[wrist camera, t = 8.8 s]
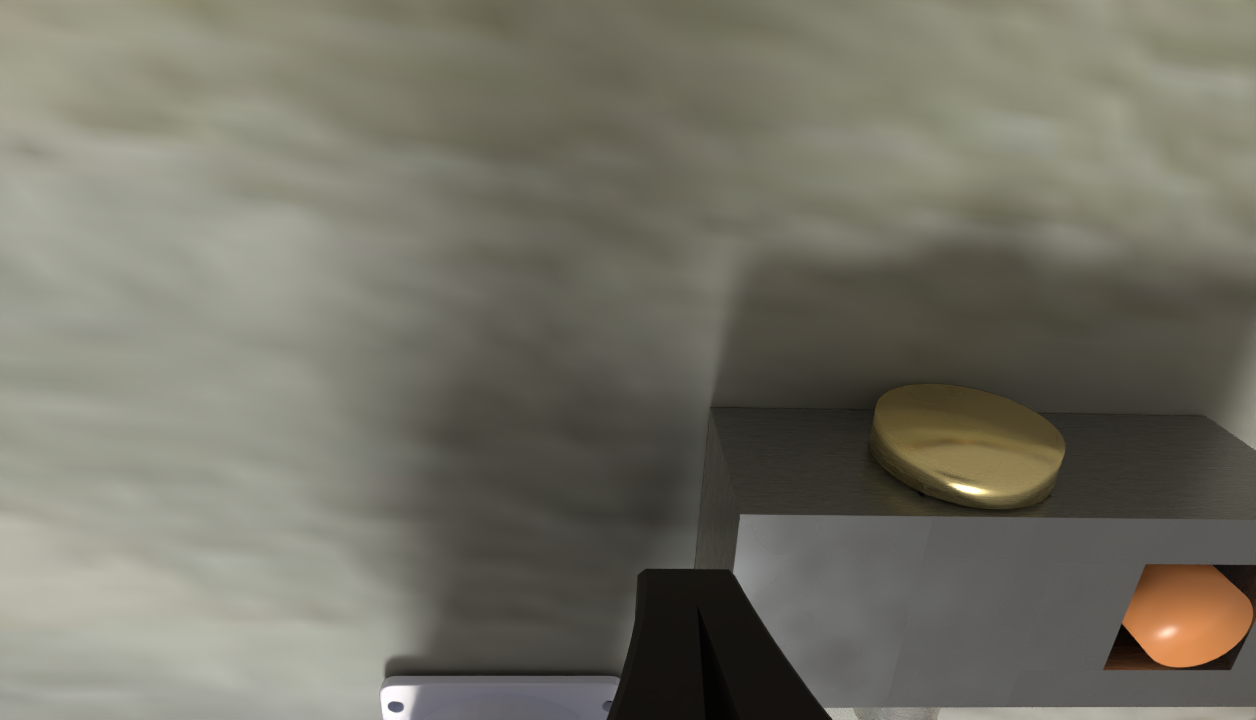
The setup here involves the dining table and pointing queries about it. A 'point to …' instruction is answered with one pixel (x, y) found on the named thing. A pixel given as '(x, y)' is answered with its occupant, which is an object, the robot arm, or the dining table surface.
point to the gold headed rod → (962, 460)
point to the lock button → (1187, 614)
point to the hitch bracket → (978, 562)
